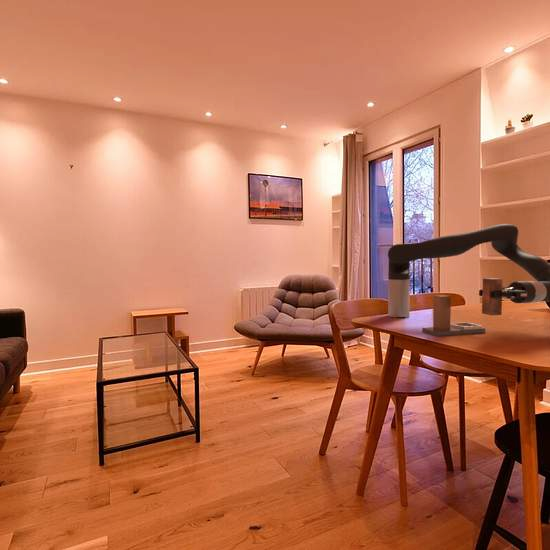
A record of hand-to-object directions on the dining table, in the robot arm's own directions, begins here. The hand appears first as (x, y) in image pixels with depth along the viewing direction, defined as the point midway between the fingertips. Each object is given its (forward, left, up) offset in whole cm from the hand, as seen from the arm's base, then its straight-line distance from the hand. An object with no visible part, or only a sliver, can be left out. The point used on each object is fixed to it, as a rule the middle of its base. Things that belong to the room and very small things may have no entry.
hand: (485, 293), depth 123 cm
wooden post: (-1, +3, -7) cm, 8 cm away
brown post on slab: (-9, -7, -15) cm, 19 cm away
